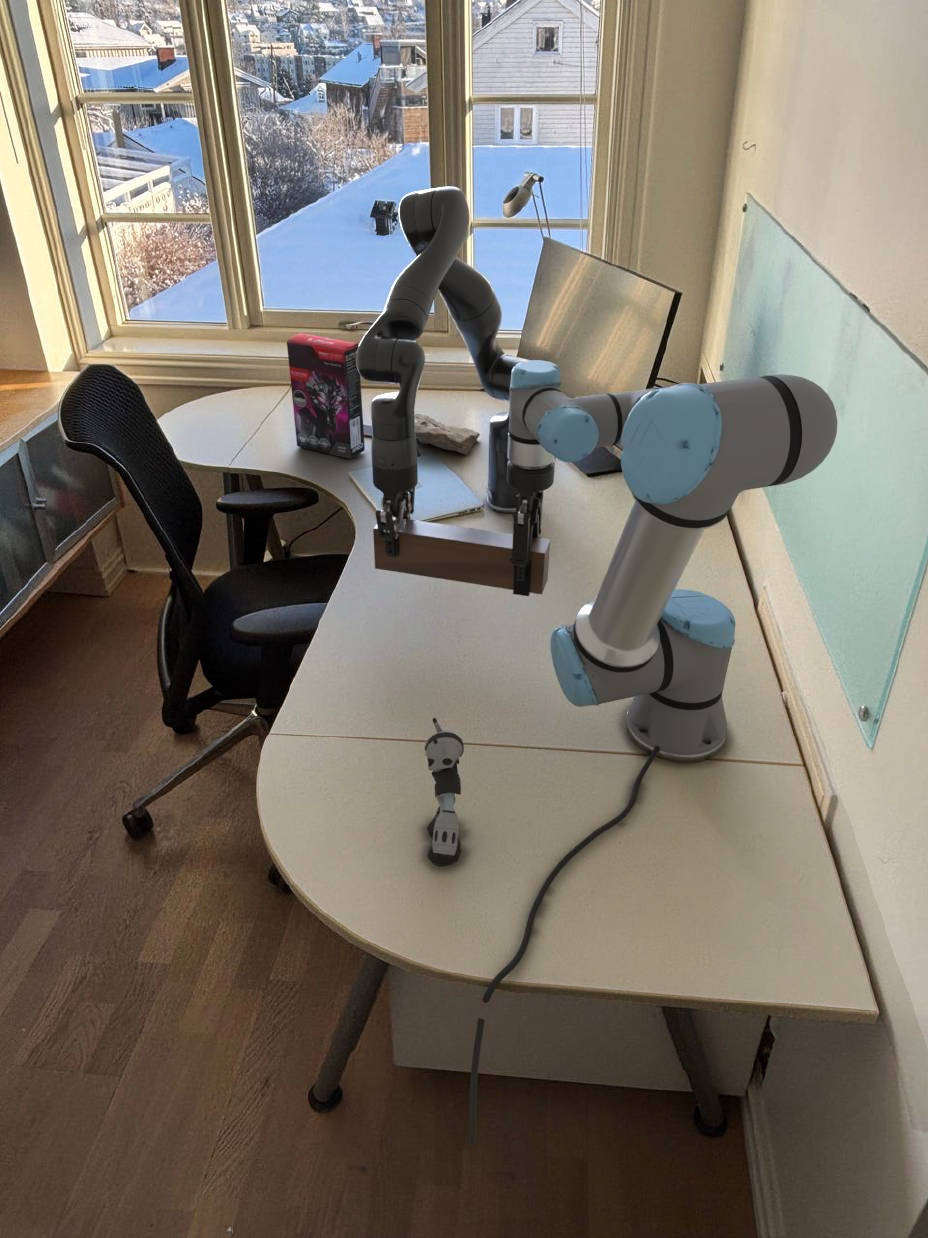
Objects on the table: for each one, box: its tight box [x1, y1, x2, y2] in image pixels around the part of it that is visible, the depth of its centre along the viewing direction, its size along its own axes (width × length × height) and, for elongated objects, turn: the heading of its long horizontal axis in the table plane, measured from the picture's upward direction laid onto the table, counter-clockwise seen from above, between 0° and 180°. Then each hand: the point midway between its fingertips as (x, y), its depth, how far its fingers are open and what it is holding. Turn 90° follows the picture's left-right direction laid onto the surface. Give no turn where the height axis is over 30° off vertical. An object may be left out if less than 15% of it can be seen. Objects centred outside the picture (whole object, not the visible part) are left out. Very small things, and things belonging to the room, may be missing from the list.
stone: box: [415, 413, 481, 455], centre depth 233 cm, size 21×15×6 cm
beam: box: [372, 517, 552, 595], centre depth 159 cm, size 5×30×8 cm, turn 75°
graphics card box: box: [286, 332, 366, 459], centre depth 224 cm, size 17×7×27 cm, turn 62°
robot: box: [423, 717, 465, 867], centre depth 118 cm, size 20×5×20 cm, turn 3°
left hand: (397, 547), depth 162 cm, fingers closed on beam, 5 cm apart
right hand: (524, 585), depth 159 cm, fingers closed on beam, 5 cm apart
